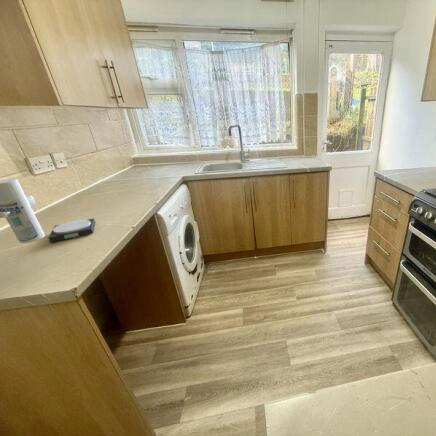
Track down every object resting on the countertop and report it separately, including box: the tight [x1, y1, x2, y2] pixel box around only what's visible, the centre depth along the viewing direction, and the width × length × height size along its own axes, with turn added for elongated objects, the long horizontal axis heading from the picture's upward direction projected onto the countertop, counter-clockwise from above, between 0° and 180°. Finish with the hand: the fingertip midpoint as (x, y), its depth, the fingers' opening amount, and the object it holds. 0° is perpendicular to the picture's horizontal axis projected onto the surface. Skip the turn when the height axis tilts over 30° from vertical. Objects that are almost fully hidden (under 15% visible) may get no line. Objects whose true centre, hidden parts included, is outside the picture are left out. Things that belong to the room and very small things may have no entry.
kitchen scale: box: [47, 218, 96, 244], centre depth 106 cm, size 14×14×3 cm
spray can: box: [0, 178, 46, 244], centre depth 78 cm, size 6×6×20 cm
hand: (18, 210), depth 77 cm, fingers closed on spray can, 5 cm apart
